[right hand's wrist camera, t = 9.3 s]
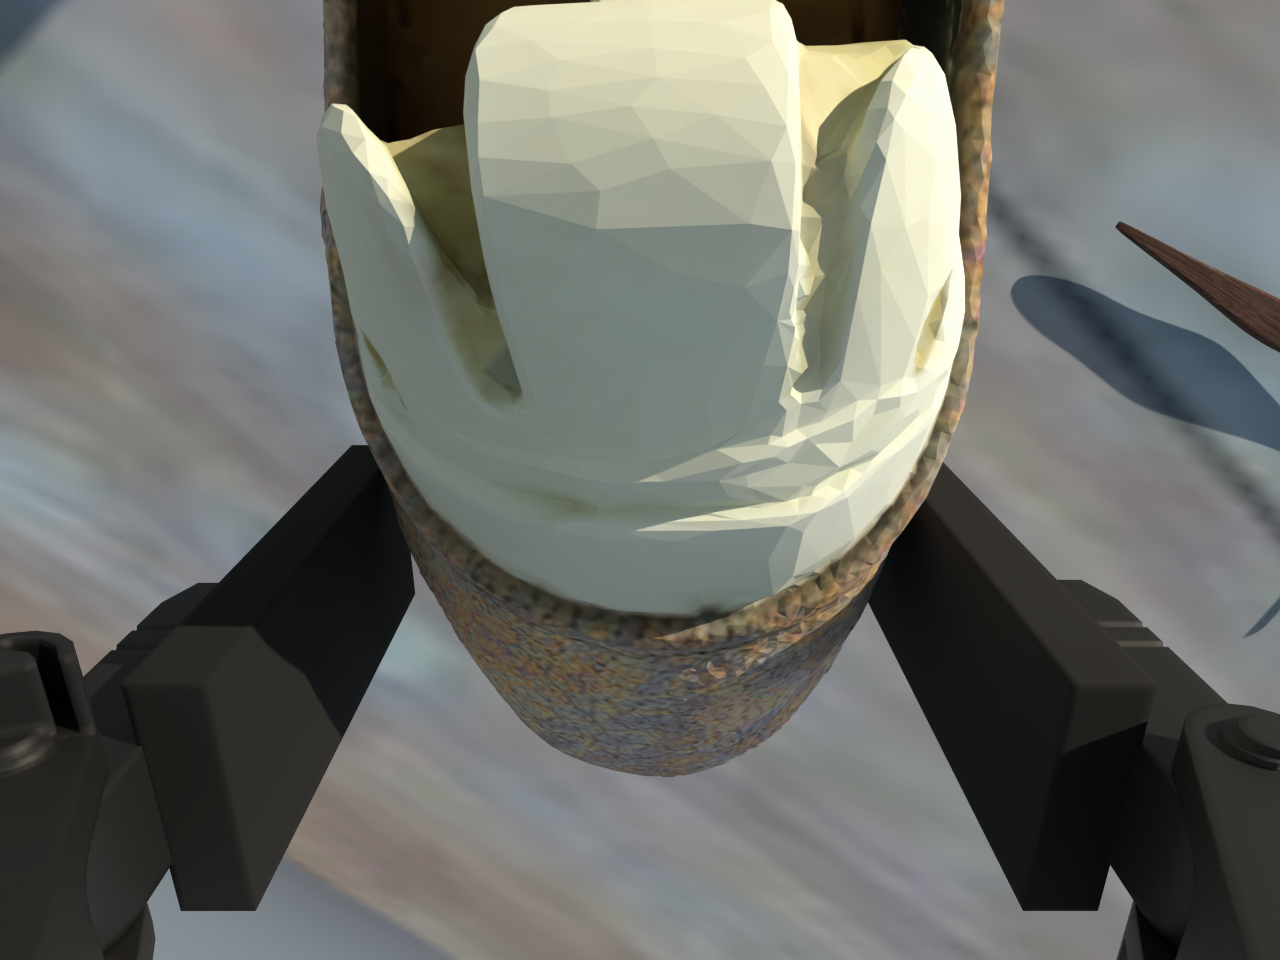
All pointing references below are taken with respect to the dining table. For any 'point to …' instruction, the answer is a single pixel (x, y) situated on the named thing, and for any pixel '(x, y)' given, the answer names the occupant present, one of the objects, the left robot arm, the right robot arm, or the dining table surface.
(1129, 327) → the dining table surface
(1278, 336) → the fork
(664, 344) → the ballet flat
